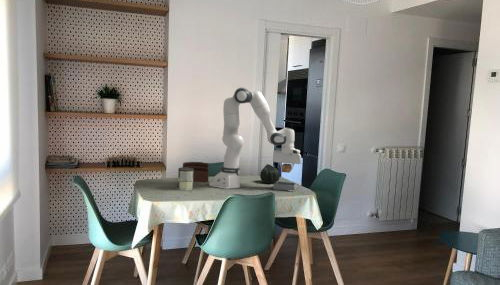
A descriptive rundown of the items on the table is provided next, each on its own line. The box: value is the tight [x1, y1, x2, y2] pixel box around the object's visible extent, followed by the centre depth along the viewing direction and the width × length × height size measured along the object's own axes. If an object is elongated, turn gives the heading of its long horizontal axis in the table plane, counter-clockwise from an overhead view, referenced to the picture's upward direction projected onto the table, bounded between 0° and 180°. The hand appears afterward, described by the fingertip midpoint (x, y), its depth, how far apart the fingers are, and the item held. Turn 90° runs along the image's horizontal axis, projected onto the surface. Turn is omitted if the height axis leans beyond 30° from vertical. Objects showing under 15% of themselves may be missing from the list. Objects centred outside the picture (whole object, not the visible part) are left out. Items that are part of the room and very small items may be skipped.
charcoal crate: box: [272, 180, 298, 191], centre depth 297 cm, size 15×13×4 cm
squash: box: [259, 163, 280, 184], centre depth 317 cm, size 14×15×15 cm
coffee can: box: [177, 166, 194, 191], centre depth 279 cm, size 10×10×14 cm
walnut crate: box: [281, 163, 293, 173], centre depth 295 cm, size 6×9×5 cm, turn 164°
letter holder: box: [182, 161, 210, 183], centre depth 308 cm, size 10×20×14 cm, turn 96°
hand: (286, 169), depth 296 cm, fingers closed on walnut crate, 5 cm apart
